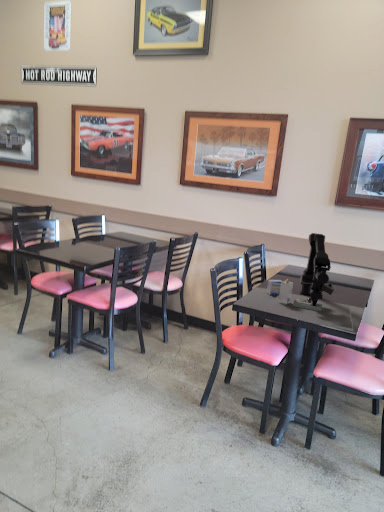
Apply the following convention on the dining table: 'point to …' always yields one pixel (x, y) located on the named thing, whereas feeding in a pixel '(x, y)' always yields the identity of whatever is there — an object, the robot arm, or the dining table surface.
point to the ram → (305, 301)
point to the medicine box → (273, 287)
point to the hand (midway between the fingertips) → (314, 306)
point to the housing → (285, 292)
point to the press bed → (308, 306)
